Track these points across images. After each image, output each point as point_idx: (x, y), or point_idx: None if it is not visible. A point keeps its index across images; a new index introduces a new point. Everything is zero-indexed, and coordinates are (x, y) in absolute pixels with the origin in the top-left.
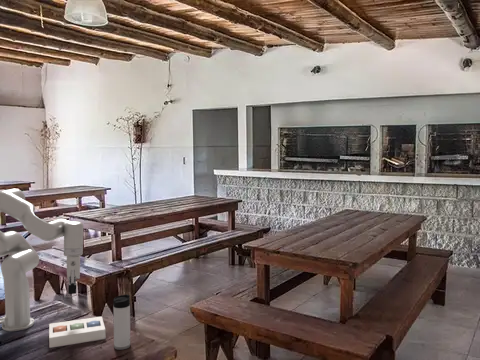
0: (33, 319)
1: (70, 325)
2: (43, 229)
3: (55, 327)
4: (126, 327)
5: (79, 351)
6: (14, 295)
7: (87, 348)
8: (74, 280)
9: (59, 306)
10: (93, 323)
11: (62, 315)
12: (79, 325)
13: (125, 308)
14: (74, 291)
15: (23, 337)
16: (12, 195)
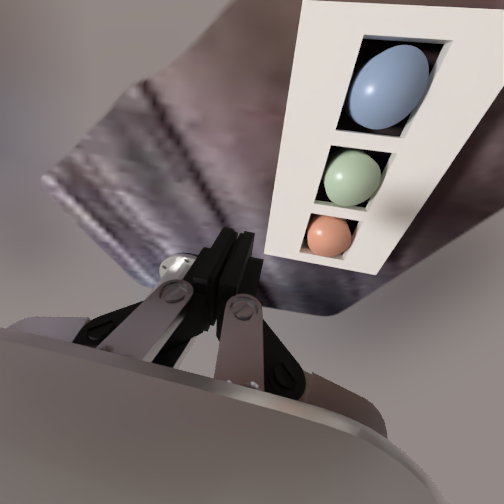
0: (179, 257)
1: (314, 199)
2: None
3: (314, 250)
4: None
5: (489, 188)
6: (178, 368)
7: (500, 154)
8: (297, 399)
9: (76, 177)
10: (394, 93)
11: (148, 182)
12: (360, 172)
13: None
14: (250, 252)
15: (263, 282)
16: None
